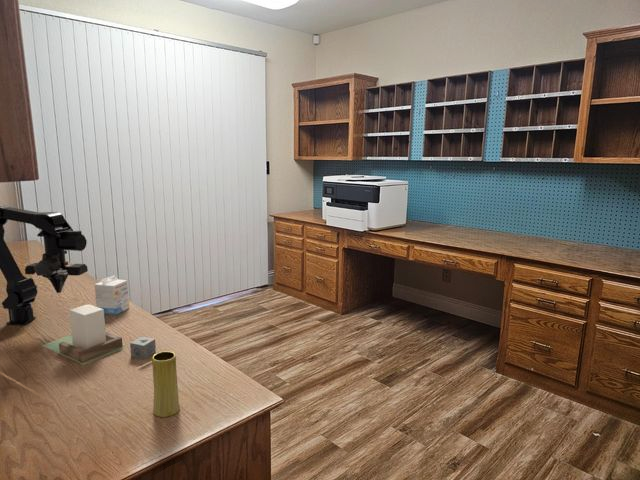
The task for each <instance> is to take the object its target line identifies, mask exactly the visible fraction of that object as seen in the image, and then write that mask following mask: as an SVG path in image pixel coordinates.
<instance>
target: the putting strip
mask: <svg viewBox="0 0 640 480" xmlns="http://www.w3.org/2000/svg"><path fill="white" fill-rule="evenodd" d="M61 342H66V343H68V344H71V345H73V344H72V334H71V335H68V336H65V337H61V338H58V339H56V340H53V341H50V342H47V343H43V344H41V345H40V346H41V347H43V348H46V349H47V350H50V351H52V352H54V353H56V354H59V355H61V356H62V357H65V358H67V359H69V360H72V361H74V362H76V363H78V364H81V365H83V366H85V365H88V364H89V363H92V362H95V361H97V360H100V359H102V358H104V357H107V356H109V355H112V354H114V353H116V352H119V351H121V350H124V349H126V348H127V346H125V345H123V347H120V348H118V349H115V350H113V351H111V352H108V353H106V354H103V355H101V356H98V357H96V358H93V359H91V360H89V361H86V362H84V363H82V362H80V361H77V360H75V359H73V358H71V357H69V356H66V355H64V354H62V353H60V351H59V343H61Z"/></svg>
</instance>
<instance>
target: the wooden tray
mask: <svg viewBox="0 0 640 480" xmlns="http://www.w3.org/2000/svg"><path fill="white" fill-rule="evenodd" d="M105 333H106V342H104V343H101V344H99V345H96V346H93V347H91V348H88V349H86V350H82V349H80V348H78V347H75V346H73V345H71V344H68V343H66V342H61V343H59V351H60V353H62V354H64V355H66V356H69V357H71V358H73V359H75V360H77V361H80V362H82V363H84V362H86V361H89V360H91V359H93V358H96V357H98V356H101V355H103V354H106V353H108V352H111V351H113V350H115V349H118V348H120V347H123V346H124V345H123V337H121V336H119V335H116V334H114V333H111V332H108V331H105Z"/></svg>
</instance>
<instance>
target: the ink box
mask: <svg viewBox="0 0 640 480" xmlns="http://www.w3.org/2000/svg"><path fill="white" fill-rule="evenodd" d="M94 294H95V307H98V308H101V309H104V315H114V316H117V315H118V314H121V313H123V312H125V311H126V310H128V309H129V308H130V301H129V300H130V299H129V287H128V280H126V279H119V278H118V277H117V276H116V275H110V276H108V277H105V278H102V279H100V281H99V282H97V283H95V284H94Z"/></svg>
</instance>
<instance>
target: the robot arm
mask: <svg viewBox="0 0 640 480" xmlns="http://www.w3.org/2000/svg"><path fill="white" fill-rule="evenodd" d="M8 221H13V222H19V223H24V224H29V225H32V226H34V227H35V228H36V229H38V230H41V231H39V233H37V235H36V236H37V237H42V238H43V245H44V252H43V253H42V259H41V260H40V261H39V262H34V263H30V264H27V265H26V266H25V267H24V273H25V275H35V274H36V276H39V277H40V276H41V277H42V278H46V279H48V280H49V281H50V283H51V284H52V286H53V288H54V290H55V292H56V293H57V294H61V293H62V290H63V288H64V286H65V282H66V281H67V279H68V277H69V276H74V277H75V276H81V275H83V274H85V273H87V272H88V271H89V269H88V265H86V263H74V264H71V265H69V261H66V255H67V254H68V251H77V252H82V251H84V250H85V249H86V247H87V243H88V241H87V239H86V237H85V235H84V234H82V231H81V230H73V228H72V226H71V225H70V224H69V223H68V221H67V220H66V218H65V217H64V215H63V214H62V213H61V212H58V211H46V212H45V211H43V212H38V211H32V210H27V209H21V208H17V207H12V206H9V205H1V206H0V271H1V273H2V275H3V277H4V279H5V280H6V286H5V287H6V289H5V291H6V294H7V296H6V298H5V299H4V300H3V301H2V302H1V305H2V308H3V309H4V310H7V311H8V317H9V321H7V322H6V325H17V326H18V325H22V326H23V325H26V324H28V323H29V322H31V321H33V320H35V319H36V318H37V317H36V316H34V308H33V307H32V303H34V302H35V301H36V296H37V294H38V293H39V292H38V289H37V288H38V286H37V285H36V283H35V281H34V279H33V278H32V277H26V276H24V275H23V274H22V270H21V269H20V267H19V265H18V264H17V261H16V259H15V258H14V256H13V254H12V252H11V251H10V248H9V246H8V245H7V243H6V241H5V232H6V231H5V228H4V226H5V225H6V224H7V223H8ZM68 265H69V266H68Z"/></svg>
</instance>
